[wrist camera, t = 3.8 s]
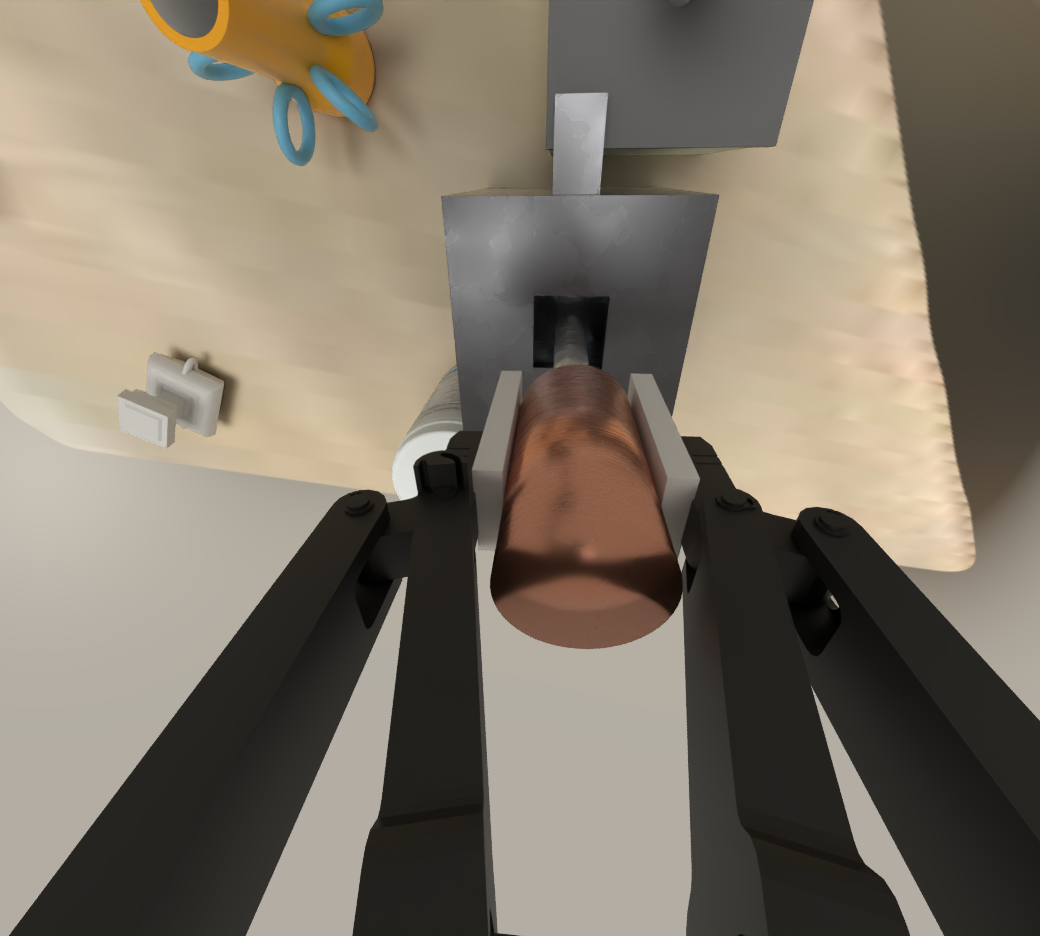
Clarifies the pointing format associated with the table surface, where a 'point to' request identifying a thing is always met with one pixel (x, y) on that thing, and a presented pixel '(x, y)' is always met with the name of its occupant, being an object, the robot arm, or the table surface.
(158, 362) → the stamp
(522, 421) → the copper lever handle
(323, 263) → the table surface
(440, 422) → the supplement tub
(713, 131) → the green box with knob
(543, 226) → the grey box
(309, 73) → the orange looped holder
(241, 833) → the robot arm
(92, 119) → the table surface
